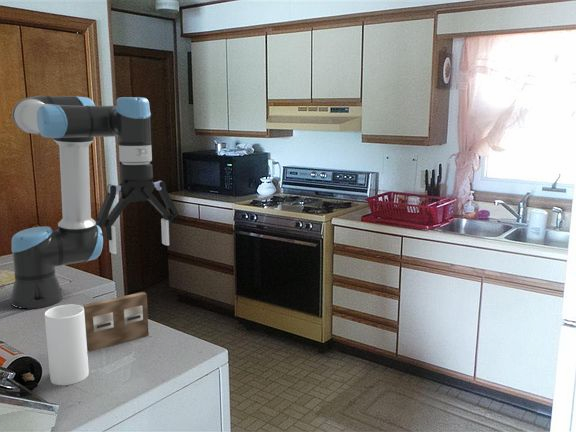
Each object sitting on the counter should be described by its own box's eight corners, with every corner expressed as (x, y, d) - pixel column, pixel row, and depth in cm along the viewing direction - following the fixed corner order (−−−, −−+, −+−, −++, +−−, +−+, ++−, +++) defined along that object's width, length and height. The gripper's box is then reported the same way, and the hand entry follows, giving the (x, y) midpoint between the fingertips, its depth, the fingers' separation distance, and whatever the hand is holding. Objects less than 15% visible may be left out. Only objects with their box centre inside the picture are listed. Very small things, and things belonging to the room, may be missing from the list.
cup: (75, 387, 115) (69, 319, 112) (42, 383, 116) (36, 316, 113) (95, 369, 123) (91, 305, 120) (64, 366, 124) (59, 303, 121)
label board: (89, 352, 132) (86, 307, 129) (79, 340, 138) (76, 298, 136) (149, 335, 141) (147, 294, 139) (137, 326, 148) (134, 285, 145)
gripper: (88, 167, 114) (94, 260, 118) (190, 161, 129) (192, 244, 133) (77, 164, 120) (84, 253, 124) (176, 159, 135) (179, 238, 139)
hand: (140, 248), depth 128 cm, fingers open, 13 cm apart
